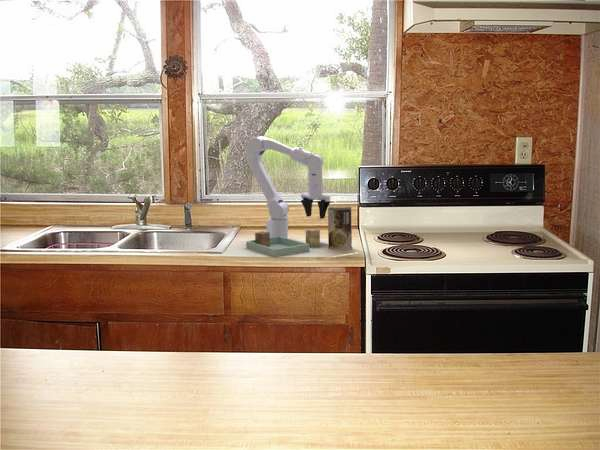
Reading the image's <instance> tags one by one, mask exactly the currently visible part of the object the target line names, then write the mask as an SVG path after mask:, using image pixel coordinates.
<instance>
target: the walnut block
mask: <svg viewBox="0 0 600 450" xmlns="http://www.w3.org/2000/svg"><path fill="white" fill-rule="evenodd" d="M254 238H255V239H254V240H255V243H257V244H260V245H263V246H267V247H270V232H266V231H264V230H263V231H256V232H254Z"/></svg>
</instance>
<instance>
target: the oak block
mask: <svg viewBox="0 0 600 450" xmlns="http://www.w3.org/2000/svg"><path fill="white" fill-rule="evenodd" d="M320 232H321V231H320V229H317V228H316V229H315V228H309V229H305V243H307V244H310V246H317V245H320V242H321V238H320V237H321V235H320V234H321V233H320Z"/></svg>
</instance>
